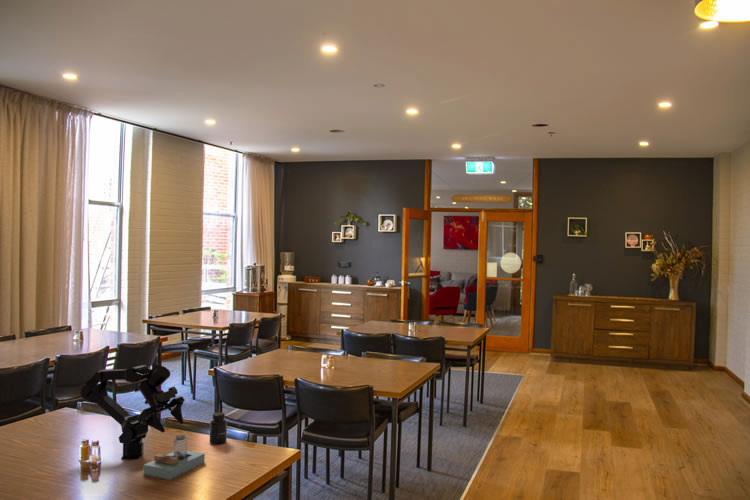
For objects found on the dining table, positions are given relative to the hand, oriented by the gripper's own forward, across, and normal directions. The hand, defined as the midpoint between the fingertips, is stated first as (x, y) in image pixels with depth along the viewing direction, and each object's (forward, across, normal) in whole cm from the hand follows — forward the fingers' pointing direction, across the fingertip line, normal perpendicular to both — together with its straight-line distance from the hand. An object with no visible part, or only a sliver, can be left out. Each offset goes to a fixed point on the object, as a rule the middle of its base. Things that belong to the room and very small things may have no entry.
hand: (173, 427), depth 211 cm
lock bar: (+10, -8, +3) cm, 13 cm away
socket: (+13, -4, +6) cm, 14 cm away
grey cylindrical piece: (+12, -1, +6) cm, 13 cm away
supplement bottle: (+10, +25, +11) cm, 30 cm away
